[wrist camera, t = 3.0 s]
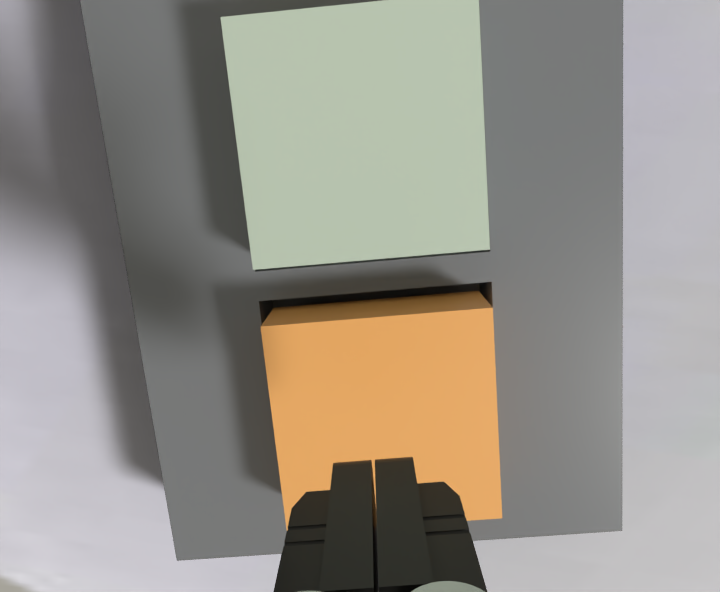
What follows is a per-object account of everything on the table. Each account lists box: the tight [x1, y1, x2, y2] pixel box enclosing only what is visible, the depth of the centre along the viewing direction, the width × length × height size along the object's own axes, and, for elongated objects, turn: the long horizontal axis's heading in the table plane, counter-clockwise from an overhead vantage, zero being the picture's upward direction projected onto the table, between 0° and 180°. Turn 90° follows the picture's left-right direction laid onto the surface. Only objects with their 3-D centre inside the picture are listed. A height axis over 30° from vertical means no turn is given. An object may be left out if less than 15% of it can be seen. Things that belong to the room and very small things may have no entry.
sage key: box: [220, 0, 490, 270], centre depth 15 cm, size 6×6×2 cm
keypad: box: [80, 0, 623, 561], centre depth 17 cm, size 23×13×3 cm, turn 5°
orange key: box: [261, 291, 502, 530], centre depth 16 cm, size 6×6×2 cm
